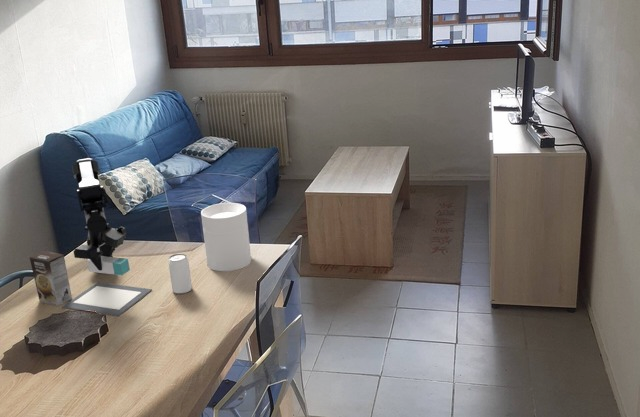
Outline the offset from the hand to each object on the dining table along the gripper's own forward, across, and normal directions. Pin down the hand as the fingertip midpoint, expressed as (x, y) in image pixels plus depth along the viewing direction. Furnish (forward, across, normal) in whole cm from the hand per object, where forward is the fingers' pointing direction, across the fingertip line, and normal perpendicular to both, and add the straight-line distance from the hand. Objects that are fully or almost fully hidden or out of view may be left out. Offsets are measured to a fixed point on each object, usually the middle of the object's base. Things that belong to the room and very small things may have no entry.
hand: (104, 267), depth 206 cm
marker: (+1, 0, -2) cm, 2 cm away
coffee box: (+11, -6, +18) cm, 22 cm away
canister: (+11, +35, -26) cm, 45 cm away
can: (+11, +11, -21) cm, 26 cm away
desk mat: (+11, -1, 0) cm, 11 cm away
